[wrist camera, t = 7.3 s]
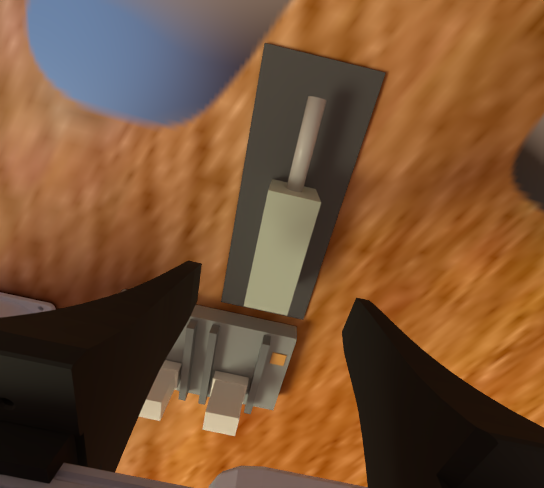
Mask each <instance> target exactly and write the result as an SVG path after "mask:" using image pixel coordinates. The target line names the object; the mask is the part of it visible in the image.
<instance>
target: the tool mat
mask: <svg viewBox="0 0 544 488" xmlns="http://www.w3.org/2000/svg"><path fill="white" fill-rule="evenodd" d="M384 76H385V72H381V71H377V70H373V69H369V68H365V67H361V66H357V65H353V64H348V63H344V62H340V61H336V60H332V59H328V58H324V57H320V56H316V55H312V54H308V53H304V52H300V51H296V50H292V49H288V48H284V47H280V46H275V45H271V44H267V43H265V44H264V50H263V56H262V62H261V68H260V74H259V80H258V86H257V92H256V98H255V104H254V110H253V116H252V122H251V128H250V133H249V139H248V145H247V151H246V157H245V163H244V169H243V175H242V181H241V187H240V193H239V199H238V205H237V211H236V217H235V223H234V229H233V235H232V241H231V247H230V252H229V258H228V264H227V270H226V276H225V282H224V288H223V294H222V300H221V302H224V303H229V304H233V305H238V306H242V307H245V306H244V302H245V297H246V293H247V288H248V283H249V278H250V274H251V269H252V264H253V260H254V255H255V250H256V245H257V241H258V236H259V231H260V227H261V222H262V217H263V212H264V208H265V203H266V198H267V194H268V189H269V187H270V184H271V181H272V179H275V180H279V181H283V182H287V183H288V179H289V175H290V171H291V167H292V162H293V158H294V154H295V150H296V146H297V142H298V137H299V133H300V129H301V125H302V121H303V117H304V112H305V108H306V104H307V100H308V96H313V97H318V98H322V99H325V100H326V105H325V108H324V112H323V116H322V120H321V123H320V127H319V131H318V135H317V138H316V142H315V146H314V150H313V153H312V157H311V161H310V165H309V169H308V172H307V176H306V180H305V184H304V186H305V187H309V188H313V189H316V191H317V193H318V196H319V198H320V201H321V205H320V208H319V212H318V215H317V218H316V222H315V225H314V228H313V232H312V235H311V238H310V242H309V245H308V248H307V252H306V255H305V258H304V261H303V265H302V268H301V271H300V275H299V278H298V281H297V285H296V288H295V291H294V295H293V298H292V301H291V305H290V308H289V311H288V315H287V316H288V317H293V318H297V319H302V320H303V318H304V315H305V312H306V309H307V307H308V304H309V301H310V298H311V295H312V292H313V289H314V286H315V283H316V280H317V277H318V274H319V271H320V268H321V265H322V262H323V259H324V256H325V253H326V250H327V247H328V244H329V241H330V238H331V235H332V232H333V229H334V226H335V223H336V220H337V217H338V214H339V211H340V208H341V205H342V202H343V199H344V196H345V193H346V190H347V187H348V184H349V181H350V178H351V175H352V172H353V169H354V166H355V163H356V160H357V157H358V154H359V151H360V148H361V145H362V142H363V139H364V136H365V133H366V130H367V127H368V124H369V121H370V118H371V115H372V112H373V109H374V106H375V103H376V100H377V97H378V94H379V91H380V88H381V85H382V82H383V79H384ZM247 308H250V307H247ZM252 309H254V308H252ZM256 310H259V309H256ZM261 311H263V310H261ZM265 312H268V311H265ZM270 313H273V312H270ZM275 314H277V313H275ZM279 315H282V314H279ZM284 316H286V315H284Z"/></svg>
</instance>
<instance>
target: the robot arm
mask: <svg viewBox="0 0 544 488" xmlns="http://www.w3.org/2000/svg"><path fill="white" fill-rule="evenodd" d="M201 265H202V264H201V263H196V262H192V261H187V262H185V263H183V264H181V265H179V266H177V267H175V268H174V269H172V270H170V271H168V272H166V273H164V274H162V275H160V276H158V277H156V278H154V279H152V280H150V281H147V282H145V283H143V284H141V285H139V286H136V287H134V288H131V289H129V290H126V291H123V292H120V293H118V294H115V295H112V296H109V297H105V298H102V299H98V300H94V301H91V302H87V303H83V304H79V305H75V306H70V307H66V308H61V309H55V306H54V305H53V304H51V303H48V302H43V301H39V300H34V299H29V298H25V297H20V296H15V295H11V294H6V293H1V292H0V488H192V487H186V486H181V485H176V484H171V483H166V482H161V481H155V480H150V479H145V478H140V477H135V476H130V475H125V474H119V473H115V471H116V468H117V466H118V463H119V461H120V459H121V456H122V454H123V451H124V449H125V447H126V444H127V442H128V440H129V437H130V435H131V433H132V430H133V428H134V426H135V423H136V421H137V419H138V416H139V414H140V412H141V410H142V407H143V405H144V403H145V401H146V398H147V396H148V394H149V392H150V390H151V388H152V385H153V383H154V381H155V379H156V377H157V375H158V373H159V370H160V369H161V367H162V365H163V363H164V361H165V359H166V358H167V356H168V354H169V353H170V351H171V349H172V348H173V346H174V344H175V343H176V341H177V339H178V338H179V336H180V334H181V332H182V331H183V329H184V327H185V326H186V324H187V322H188V320H189V319H190V316H191V314H192V312H193V309H194V307H195V305H196V302H197V298H198V290H199V282H200V274H201ZM342 337H343V347H344V354H345V358H346V362H347V366H348V370H349V374H350V378H351V382H352V386H353V390H354V394H355V398H356V402H357V407H358V411H359V418H360V425H361V431H362V438H363V446H364V455H365V463H366V473H367V483H368V487H363V486H358V485H353V484H348V483H343V482H338V481H333V480H328V479H323V478H318V477H313V476H308V475H303V474H297V473H292V472H287V471H282V470H277V469H272V468H267V467H258V466H239V467H235V468H232V469H229V470H226V471H223V472H222V473H220V474H219V475H218V476H217V477H216V478H215V479H214V481H213V482H212V483H211V484H210V486H209V488H544V428H543V427H541V426H540V425H538V424H536V423H534V422H532V421H530V420H528V419H526V418H525V417H523V416H521V415H519V414H517V413H515V412H513V411H512V410H510V409H508V408H507V407H505V406H503V405H501V404H500V403H498V402H496V401H495V400H493V399H491V398H490V397H488V396H486V395H485V394H483V393H482V392H480V391H478V390H477V389H475V388H474V387H472V386H471V385H469V384H468V383H466V382H465V381H463V380H462V379H461V378H459V377H458V376H456V375H455V374H453V373H452V372H451V371H449V370H448V369H446V368H445V367H444V366H442V365H441V364H440V363H439V362H437V361H436V360H435V359H433V358H432V357H431V356H430V355H428V354H427V353H426V352H425V351H424V350H422V349H421V348H420V347H419V346H418V345H417V344H415V343H414V342H413V341H412V340H411V339H410V338H409V337H408V336H407V335H405V334H404V333H403V332H402V331H401V330H400V329H399V328H398V327H397V326H396V325H395V324H394V323H393V322H392V321H391V320H390V319H389V318H388V317H387V316H386V315H385V314H384V313H383V312H382V311H381V310H379V309H378V308H377V307H376V306H375V305H374V304H373V303H372V302H370V301H369V300H365V299H360V298H356V300H355V302H354V304H353V307H352V309H351V312H350V314H349V316H348V319H347V321H346V324H345V326H344V328H343V331H342Z"/></svg>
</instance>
